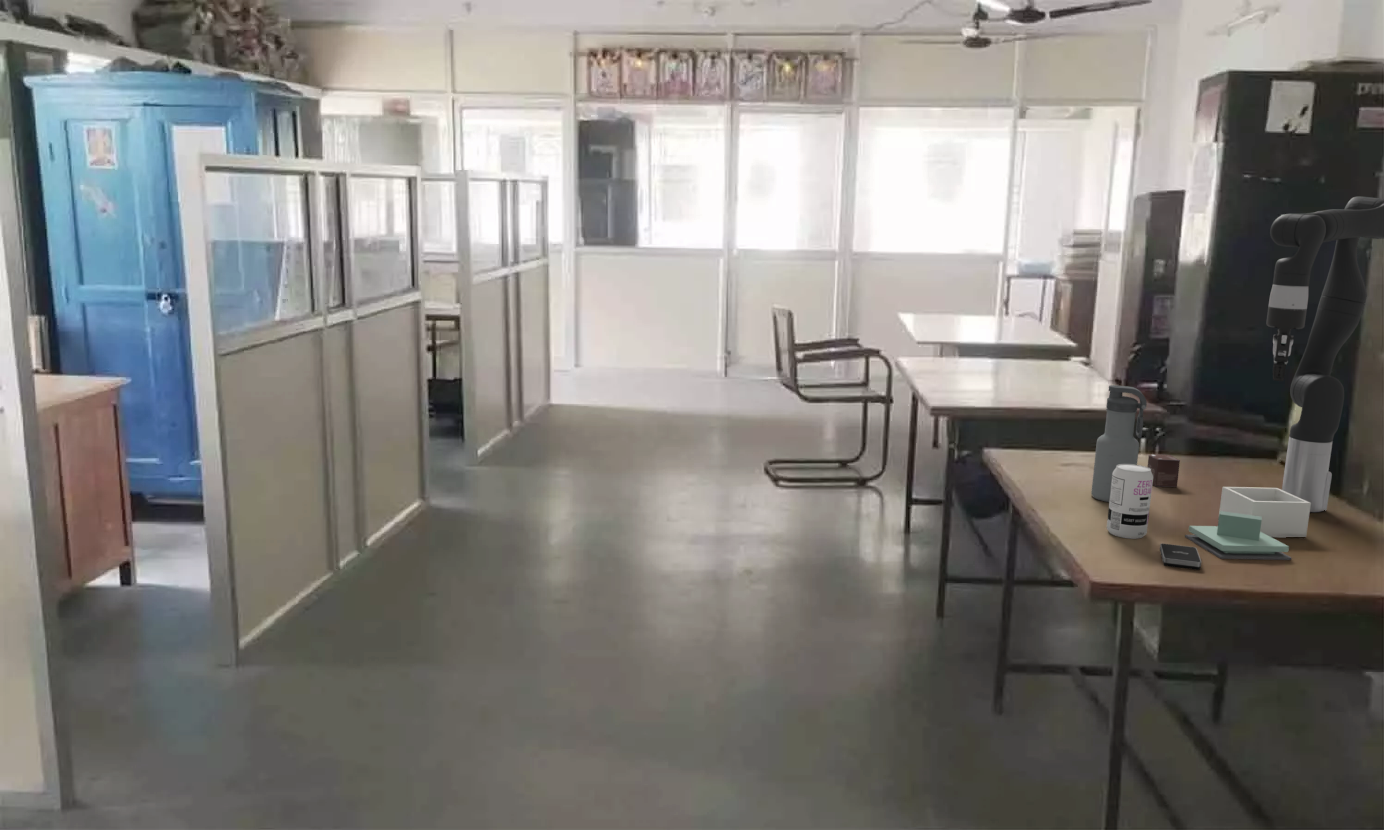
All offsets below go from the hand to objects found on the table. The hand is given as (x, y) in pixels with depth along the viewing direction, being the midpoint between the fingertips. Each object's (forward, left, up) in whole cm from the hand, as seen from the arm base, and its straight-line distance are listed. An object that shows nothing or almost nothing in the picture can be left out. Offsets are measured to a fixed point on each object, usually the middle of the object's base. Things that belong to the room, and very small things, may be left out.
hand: (1277, 378), depth 244 cm
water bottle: (+25, -21, -34) cm, 47 cm away
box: (+5, -37, -34) cm, 51 cm away
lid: (+15, +18, -33) cm, 40 cm away
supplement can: (+35, +9, -34) cm, 50 cm away
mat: (+15, +18, -34) cm, 41 cm away
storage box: (+1, +3, -34) cm, 34 cm away
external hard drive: (+32, +27, -35) cm, 54 cm away
